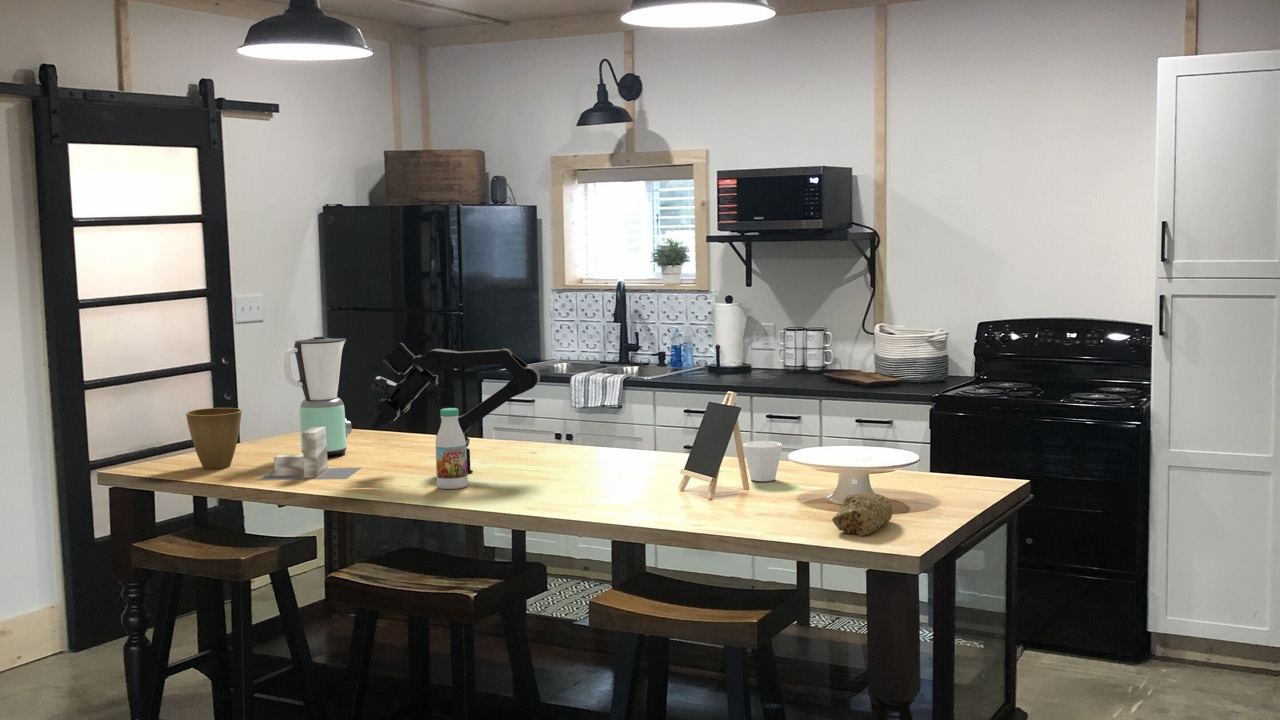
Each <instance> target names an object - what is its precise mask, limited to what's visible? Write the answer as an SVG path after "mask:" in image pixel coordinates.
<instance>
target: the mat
mask: <svg viewBox="0 0 1280 720" xmlns="http://www.w3.org/2000/svg"><path fill="white" fill-rule="evenodd" d="M361 469H362V467H328V470H327V471H326V472H324V473H323V474H321V475H320V476H318V477H304V475H279V476H275V469H274V470H272V471H270V472H269V473H267V474H266V475H264V476H261V477H260V478H258V479H257V481H292V480H293V481H299V480H301V481H302V480H304V481H305V480H347V479H349V478H350V477H351V476H353V475H354V474H356V473H357V472H358V471H359V470H361Z"/></svg>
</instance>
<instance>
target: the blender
mask: <svg viewBox="0 0 1280 720" xmlns="http://www.w3.org/2000/svg"><path fill="white" fill-rule="evenodd" d="M346 341H347V338H331V337H326V336H315V337H312V338H308V339H300V340H295V342H294V346H293V347H291V348H288V349H286V351H284V354H283V366H284V367H283V368H284V375H285V376H284V377H285V379H286V382H287V383H288V384H289V385H291V386H294V387H300V388H301V389H302V391H303V395H304V398H305V399H303V401H302V402H301V403H300V406H299V424H300V448H301V449H300V450H301V451H300V452H301V453H302V454H303V439H302V433H303V432H305V431H306V430H308V429H310V428H312V427H326V442H327V456H334V455H339V457H343V455H344V456H345V455H346V451H347V449H348V447H347V445H348V444H347V438H348V435H350V434H352V432H353V431H352V430H353V428H352V422H351V421H350V420H347V418H346V412H345V411H346V410H345V405H344V402H343V400H342V399H341V398H340V397H338V391H339V382H340V373H341V364H342V354H343V350H344V349H343V348H344V345H345V343H346ZM292 354H295V358H296V363H297V369H298V375H299V380H298V381H297V380H294V378H293V375H292V374H293V373H292V367H291V366H292V365H291V355H292Z"/></svg>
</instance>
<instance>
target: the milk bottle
mask: <svg viewBox="0 0 1280 720" xmlns="http://www.w3.org/2000/svg"><path fill="white" fill-rule="evenodd" d="M439 410H440V411H439V413H440V418H441V419H440V421H441V422H440V424H441V426H440V425H439V428H440V429H439V428H438V429H439V432H438V434H437V433H436V434H437V437H436V438H435V468H436V469H435V470H436V486H437V488H438V489H442V490H458V489H463V488H466V487H467V486H468V484H469V483H468V473H467V455H466V441H465V437H464V435H465V433H464V434H463V432H462V430H461V428H460V425H459V422H458V417H460V416H459V415H460V413H459V411H460V410H459V408H457V407H446V408H441V409H439Z"/></svg>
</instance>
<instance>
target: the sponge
mask: <svg viewBox="0 0 1280 720" xmlns="http://www.w3.org/2000/svg"><path fill="white" fill-rule="evenodd" d="M841 503H842V504H841V505H840V506H839V507H840V510H839V511H838V512H837V513H836V514H835V515H834V516H832V519H831V521H832V522H833V525H834V526H835V527H836V528H837V530H839V531H842V532H843V533H845V534H846V533H847V534H851V535H858V536H859V537H864V536H868V535H870V534H873V533H874V532H876V531H877V530H879V529H880V528H881V527H882V526H884V525H886V523H888V522H890V521H891V519H892V518H893V513H894V512H893V511H894V510H893V506H892V503H891V500H890V499H889V498H888V497H886V496H885V495H882V494H881V493H880V494H879V493H874V492H867V493H859V494H858V493H854V494H850V495H847V496H846V497H845V498H844V499H843V501H842V502H841Z"/></svg>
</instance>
